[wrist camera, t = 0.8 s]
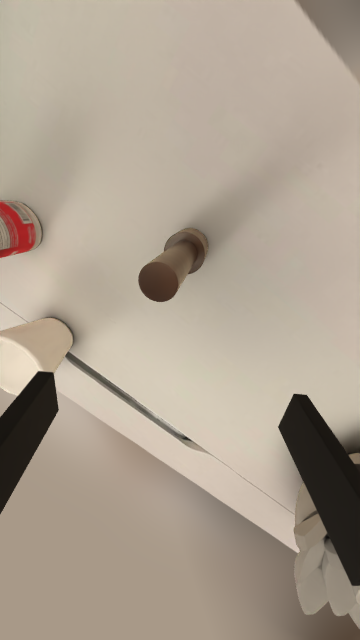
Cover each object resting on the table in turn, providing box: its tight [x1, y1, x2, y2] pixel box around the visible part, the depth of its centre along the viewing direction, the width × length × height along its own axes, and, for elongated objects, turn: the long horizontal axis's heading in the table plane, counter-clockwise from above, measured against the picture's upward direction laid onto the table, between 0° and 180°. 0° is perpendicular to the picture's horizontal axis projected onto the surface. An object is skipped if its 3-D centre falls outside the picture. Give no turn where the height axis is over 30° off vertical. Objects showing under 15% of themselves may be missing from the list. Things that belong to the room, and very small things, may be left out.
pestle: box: [138, 228, 208, 302], centre depth 22 cm, size 4×4×14 cm
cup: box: [0, 318, 73, 396], centre depth 34 cm, size 10×10×9 cm
